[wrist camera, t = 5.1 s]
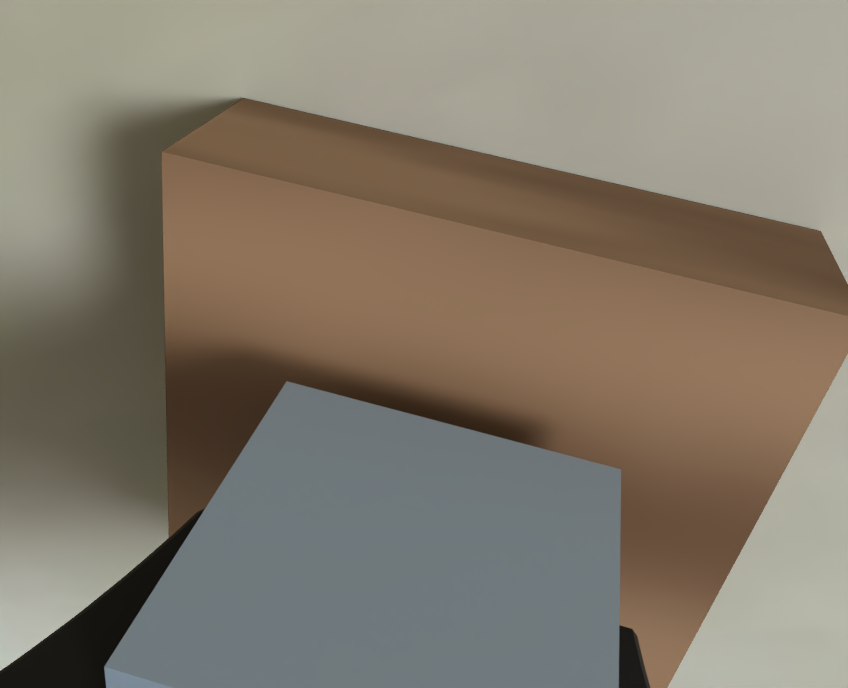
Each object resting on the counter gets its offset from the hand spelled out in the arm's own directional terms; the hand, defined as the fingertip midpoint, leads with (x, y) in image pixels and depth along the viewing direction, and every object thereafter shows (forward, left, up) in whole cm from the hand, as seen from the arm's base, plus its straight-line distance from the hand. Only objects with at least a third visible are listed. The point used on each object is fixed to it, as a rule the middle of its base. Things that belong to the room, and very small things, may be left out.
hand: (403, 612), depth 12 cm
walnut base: (0, 0, -6) cm, 6 cm away
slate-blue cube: (0, 0, -2) cm, 2 cm away
